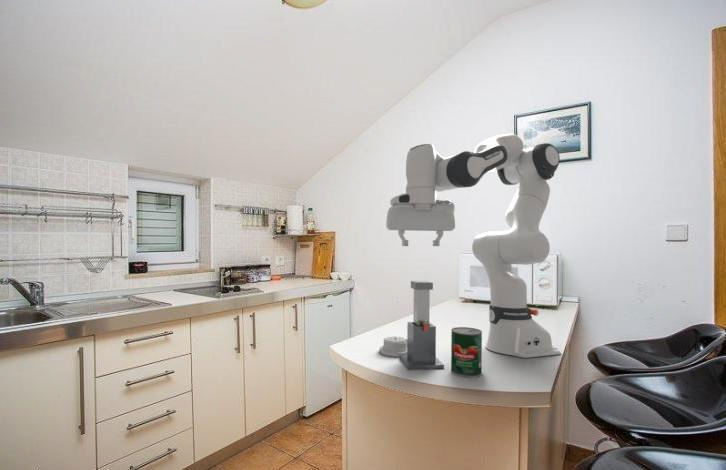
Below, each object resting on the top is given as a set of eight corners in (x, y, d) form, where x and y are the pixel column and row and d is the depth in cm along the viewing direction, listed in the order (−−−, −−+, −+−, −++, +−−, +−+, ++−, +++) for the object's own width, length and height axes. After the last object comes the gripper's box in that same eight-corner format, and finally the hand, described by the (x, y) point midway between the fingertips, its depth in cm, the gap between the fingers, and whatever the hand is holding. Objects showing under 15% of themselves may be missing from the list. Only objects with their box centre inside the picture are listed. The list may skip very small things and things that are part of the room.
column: (426, 339, 103) (427, 280, 103) (432, 343, 98) (432, 282, 98) (410, 339, 102) (410, 280, 103) (415, 344, 97) (415, 282, 98)
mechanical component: (411, 358, 104) (411, 349, 114) (411, 343, 104) (411, 335, 114) (378, 357, 106) (380, 347, 115) (378, 342, 106) (380, 334, 116)
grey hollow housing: (432, 357, 105) (432, 317, 106) (444, 368, 95) (444, 324, 96) (399, 358, 104) (400, 317, 104) (408, 369, 94) (408, 324, 94)
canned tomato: (455, 377, 89) (455, 333, 89) (447, 366, 97) (447, 326, 97) (486, 377, 89) (486, 334, 90) (476, 367, 97) (476, 327, 97)
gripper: (450, 201, 108) (450, 246, 107) (385, 199, 105) (385, 246, 104) (458, 198, 102) (458, 246, 101) (389, 196, 99) (389, 245, 98)
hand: (420, 246), depth 103 cm, fingers open, 8 cm apart
